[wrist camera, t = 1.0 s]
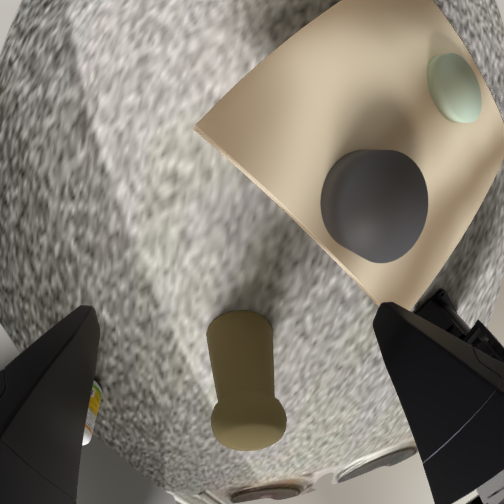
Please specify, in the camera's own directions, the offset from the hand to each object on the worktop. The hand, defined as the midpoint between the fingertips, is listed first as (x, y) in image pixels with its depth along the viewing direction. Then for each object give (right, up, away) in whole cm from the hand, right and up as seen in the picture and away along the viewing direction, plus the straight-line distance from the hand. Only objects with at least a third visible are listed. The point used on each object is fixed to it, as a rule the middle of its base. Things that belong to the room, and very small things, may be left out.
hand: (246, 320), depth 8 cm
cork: (-1, -6, +18) cm, 19 cm away
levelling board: (+9, +9, +6) cm, 15 cm away
